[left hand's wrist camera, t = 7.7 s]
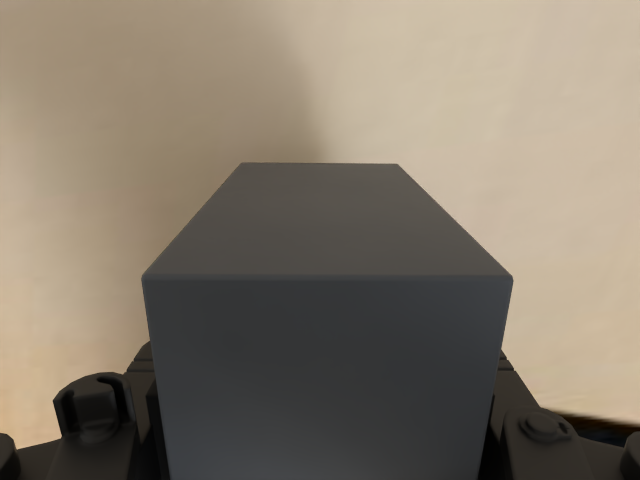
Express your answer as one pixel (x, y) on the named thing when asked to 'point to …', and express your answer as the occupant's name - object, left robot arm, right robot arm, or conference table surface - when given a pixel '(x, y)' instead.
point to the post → (325, 330)
